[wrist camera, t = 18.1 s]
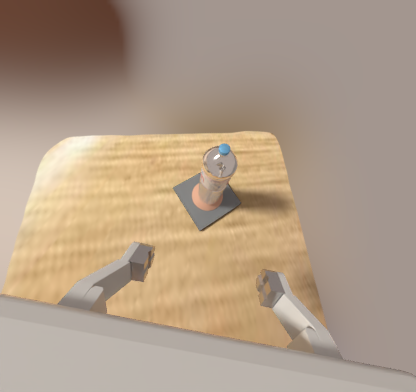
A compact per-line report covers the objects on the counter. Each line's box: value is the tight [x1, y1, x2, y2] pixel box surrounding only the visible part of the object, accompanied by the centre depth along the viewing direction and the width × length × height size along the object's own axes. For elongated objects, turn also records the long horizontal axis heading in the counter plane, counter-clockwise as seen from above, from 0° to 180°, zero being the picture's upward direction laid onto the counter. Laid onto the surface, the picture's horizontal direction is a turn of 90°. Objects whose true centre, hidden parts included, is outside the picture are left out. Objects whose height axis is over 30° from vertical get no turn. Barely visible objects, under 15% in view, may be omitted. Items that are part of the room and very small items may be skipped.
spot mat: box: [173, 173, 241, 231], centre depth 48 cm, size 16×16×1 cm
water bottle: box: [198, 144, 238, 205], centre depth 36 cm, size 7×7×25 cm
